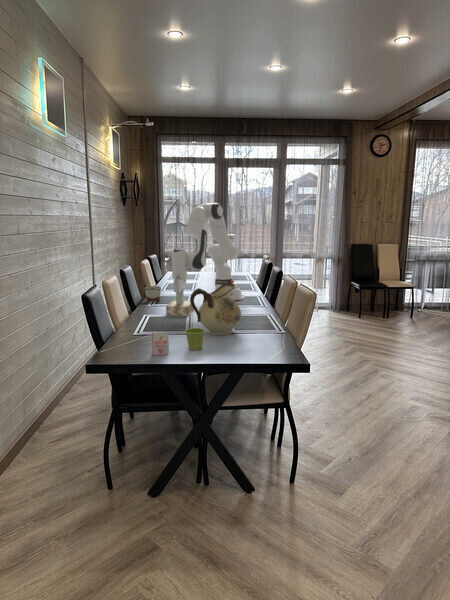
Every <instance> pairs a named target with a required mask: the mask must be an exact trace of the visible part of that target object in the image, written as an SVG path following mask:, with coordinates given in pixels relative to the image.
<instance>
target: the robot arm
mask: <svg viewBox="0 0 450 600" xmlns="http://www.w3.org/2000/svg"><path fill="white" fill-rule="evenodd" d="M206 221H208V224H209V230H210V233H211V237H212V239H213V240H214V241H215V242H216V243H213V244H210V245H209V247H208V249H207V245H208V243H207V242H208V233H207V230H206V229H205V227H206V226H205V225H206ZM186 230H187V232H188V233H189V234H190V235H191V236H192V237H194V238H196V239H198V246H197V251H196V252H189V251H186V249H185V248H183V247H178V248H174V249H173V250H172V253H171V264H172V268H171V271H172V272H171V276H172V278H173V283H172V284H173V287H172V288H173V292H174V293H175V296H176V295H177V298H180V292H184V290H185V289H184V288H185V287H186V286H187V277H188V272H187V268H188V269H196V270H202V269H203V268H204V267H205V266H206V265H207V254H208V256H209V257H210V259H211V260H212V262H213V264H214V269H215V279H214V286H215V289H214V291H215V290H216V289H218V288H219V287H220V286H221V285H223V284H226V283H232V284H235V279H234V278H232V269H231V268H232V267H231V266H230V264H228V262H227V261H234V260H236V259H237V258H238V257H239V254H240V253H239V252H240V251H239V248H238V246H236V245H235V244H234V243H233V241H232V240H231V238H230V236H229V233H228V229H227V225H226V220H225V217H224V208H223V206H222V204H221V203H218V202H206V203H202V204H196V205H194V206H193V208H192V210H191V212H190V214H189V218H188V220H187V224H186ZM231 298H232V299H233V300H234V301H237V300H238V301H239V300H241V301H242V300H244V299H245V295H244V294H242V290H241V288H240V286H239V287H238V288H236V289H234V290H233V291H232V292H231Z"/></svg>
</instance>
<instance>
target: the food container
mask: <svg viewBox="0 0 450 600" xmlns="http://www.w3.org/2000/svg"><path fill="white" fill-rule="evenodd" d="M143 290H144V292H145V298H146V299H145V300H146V302H149V303H151V301H158V302H157V303H160V302H161V292H162V288H161V286H157V285H156V286H155V285H153V286H145V287H144V288H143Z"/></svg>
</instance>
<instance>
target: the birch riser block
mask: <svg viewBox="0 0 450 600" xmlns="http://www.w3.org/2000/svg"><path fill="white" fill-rule="evenodd" d="M194 311H195V310H194V309H193V307H192V305H191V302H190V300H184V303H183V304H176V300H171V301H170V302H169V303H168V304H167V305H166V306H165V313H166V316H185V317H186V316H187V317H188V316H190V315H191V313H193V312H194Z"/></svg>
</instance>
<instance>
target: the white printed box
mask: <svg viewBox="0 0 450 600" xmlns="http://www.w3.org/2000/svg"><path fill="white" fill-rule="evenodd" d="M169 344H170V343H169V333H168V332H152V337H151V346H152V347H151V348H152V350H151V352H152V356H155V357H156V356H159V357H160V356H169V354H170V350H169V349H170V348H169V347H170V345H169Z"/></svg>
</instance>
